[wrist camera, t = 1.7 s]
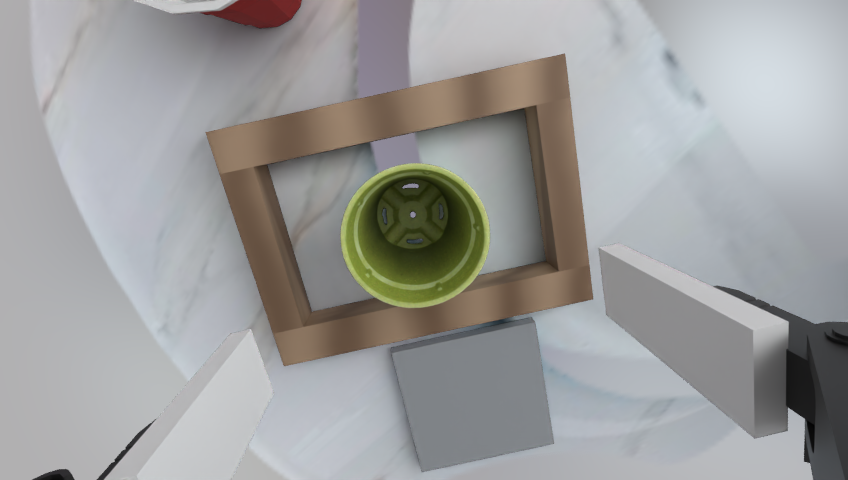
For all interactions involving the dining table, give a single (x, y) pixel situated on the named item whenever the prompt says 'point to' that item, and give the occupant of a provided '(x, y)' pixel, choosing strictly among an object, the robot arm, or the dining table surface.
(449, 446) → the slate coaster
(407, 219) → the plant pot
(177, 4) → the plastic cup
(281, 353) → the open rectangular wooden frame
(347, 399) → the dining table surface
